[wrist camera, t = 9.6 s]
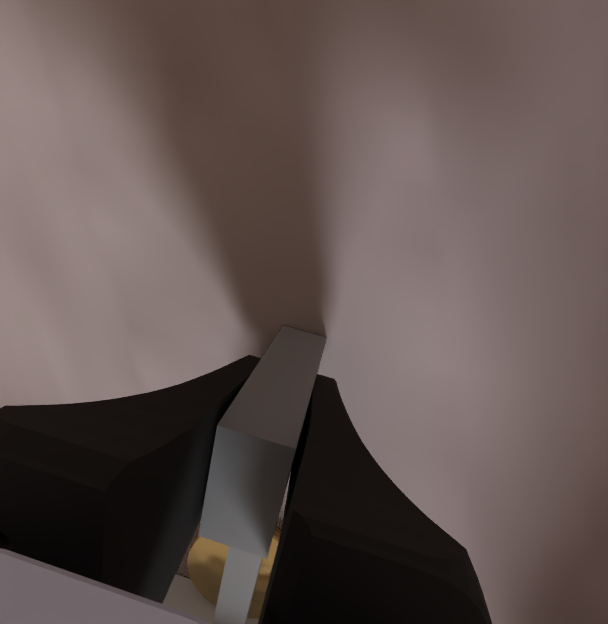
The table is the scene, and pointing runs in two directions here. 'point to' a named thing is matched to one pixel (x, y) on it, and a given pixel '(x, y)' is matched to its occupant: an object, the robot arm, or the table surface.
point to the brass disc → (210, 566)
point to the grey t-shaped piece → (252, 473)
